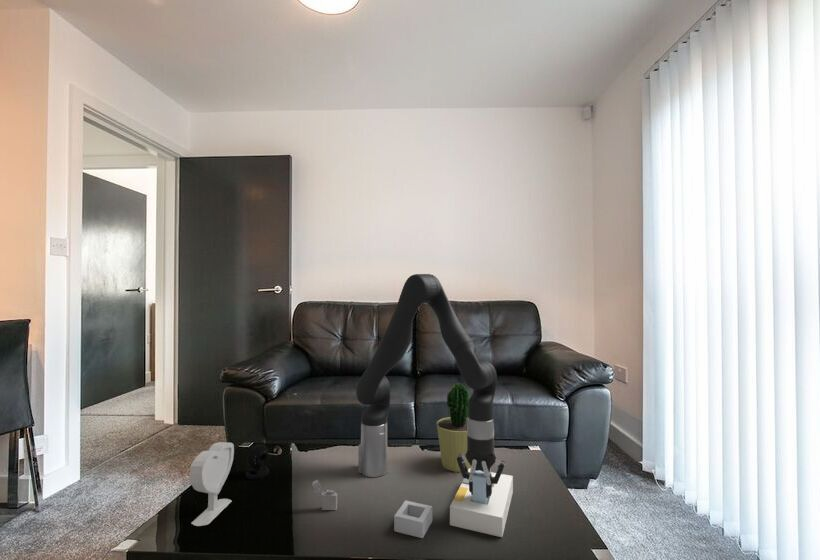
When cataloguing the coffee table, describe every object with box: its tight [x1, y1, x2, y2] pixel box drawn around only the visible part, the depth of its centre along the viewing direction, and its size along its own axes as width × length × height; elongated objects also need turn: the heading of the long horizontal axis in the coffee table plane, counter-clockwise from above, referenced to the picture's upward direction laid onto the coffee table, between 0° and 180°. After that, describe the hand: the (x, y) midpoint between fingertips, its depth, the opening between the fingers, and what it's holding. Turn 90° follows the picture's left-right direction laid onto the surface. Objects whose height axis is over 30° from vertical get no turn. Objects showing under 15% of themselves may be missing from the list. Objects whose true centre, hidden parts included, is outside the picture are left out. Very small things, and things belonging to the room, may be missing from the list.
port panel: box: [449, 468, 514, 538], centre depth 113 cm, size 14×24×5 cm, turn 159°
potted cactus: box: [436, 382, 472, 473], centre depth 141 cm, size 15×15×30 cm
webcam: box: [245, 444, 270, 480], centre depth 132 cm, size 8×8×10 cm
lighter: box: [311, 479, 338, 511], centre depth 112 cm, size 7×2×8 cm, turn 89°
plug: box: [473, 471, 488, 505], centre depth 109 cm, size 4×4×10 cm
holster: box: [393, 500, 433, 539], centre depth 104 cm, size 8×8×4 cm
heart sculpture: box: [189, 441, 235, 527], centre depth 111 cm, size 16×5×18 cm, turn 175°
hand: (480, 494), depth 109 cm, fingers closed on plug, 3 cm apart
